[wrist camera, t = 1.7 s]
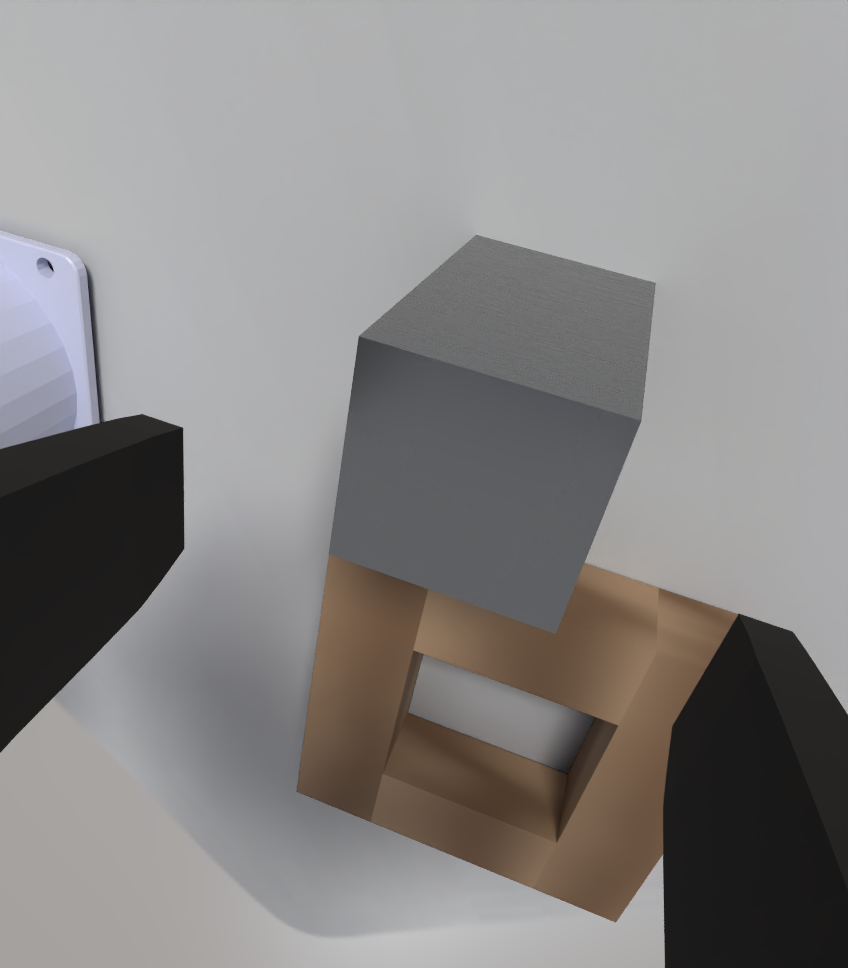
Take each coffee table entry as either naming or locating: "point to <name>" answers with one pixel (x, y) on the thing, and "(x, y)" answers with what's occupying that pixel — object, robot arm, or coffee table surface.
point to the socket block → (488, 769)
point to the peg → (493, 427)
